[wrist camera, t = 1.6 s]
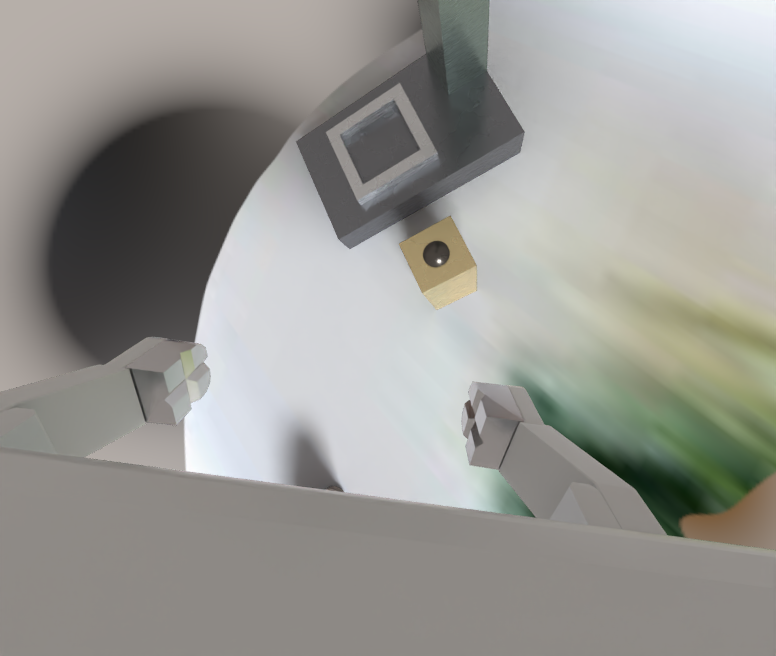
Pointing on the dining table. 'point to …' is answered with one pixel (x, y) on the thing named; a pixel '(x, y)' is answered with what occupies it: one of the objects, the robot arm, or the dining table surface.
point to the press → (415, 129)
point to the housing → (441, 263)
